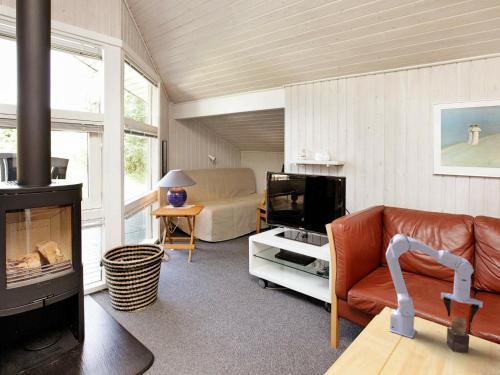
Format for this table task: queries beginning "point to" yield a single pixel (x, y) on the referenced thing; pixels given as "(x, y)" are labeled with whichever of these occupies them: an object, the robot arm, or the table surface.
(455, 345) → the box
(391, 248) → the robot arm
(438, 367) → the table surface
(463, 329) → the walnut block
